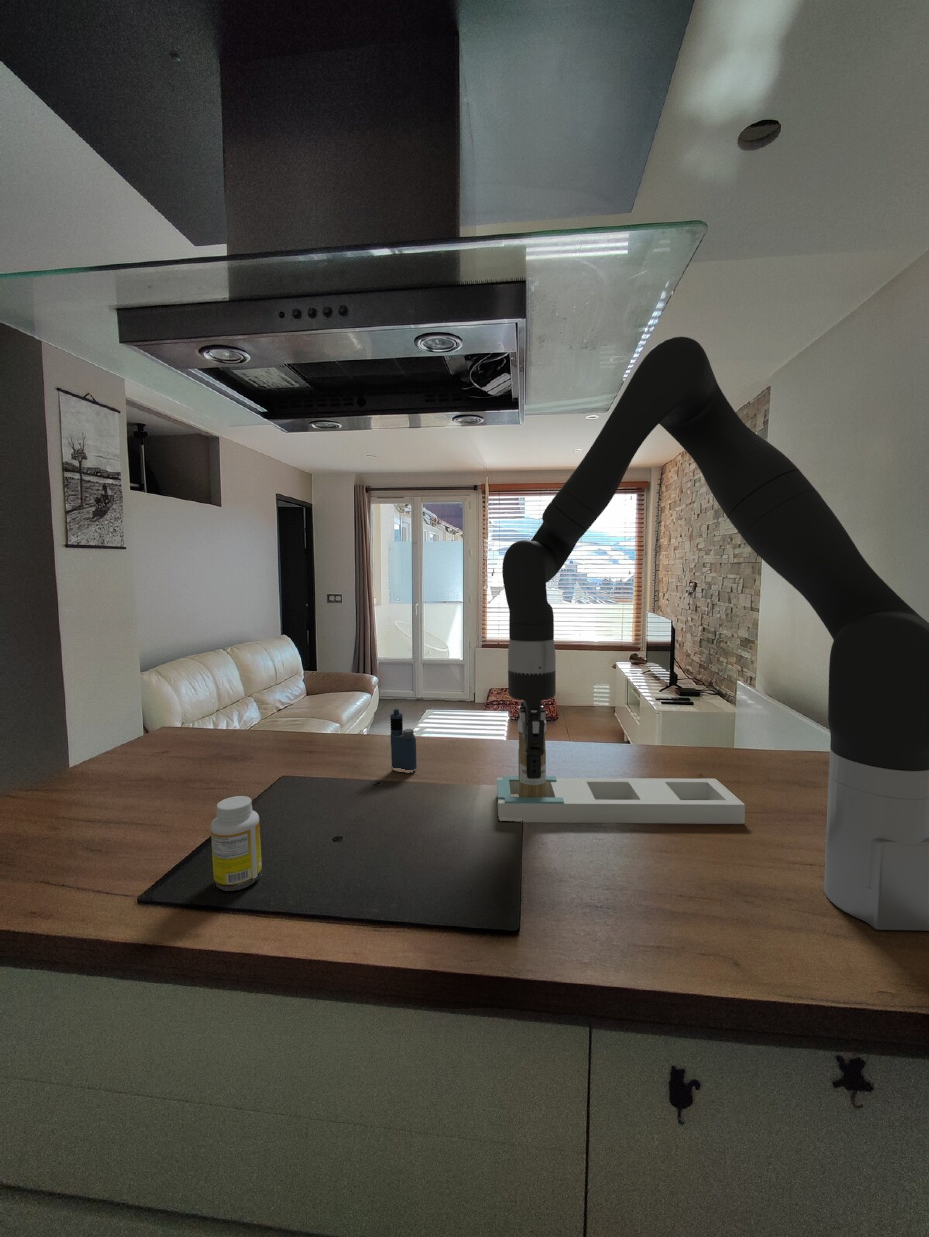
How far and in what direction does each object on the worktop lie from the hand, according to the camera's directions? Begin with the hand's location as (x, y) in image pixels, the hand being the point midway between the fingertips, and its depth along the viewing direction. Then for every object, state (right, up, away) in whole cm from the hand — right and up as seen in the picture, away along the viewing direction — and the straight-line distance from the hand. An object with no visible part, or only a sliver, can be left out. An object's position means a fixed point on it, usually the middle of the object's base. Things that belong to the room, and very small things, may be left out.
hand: (532, 771), depth 83 cm
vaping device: (-23, -5, +17) cm, 29 cm away
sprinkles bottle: (0, -5, 0) cm, 5 cm away
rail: (+13, -6, 0) cm, 14 cm away
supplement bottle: (-39, -8, -19) cm, 44 cm away
